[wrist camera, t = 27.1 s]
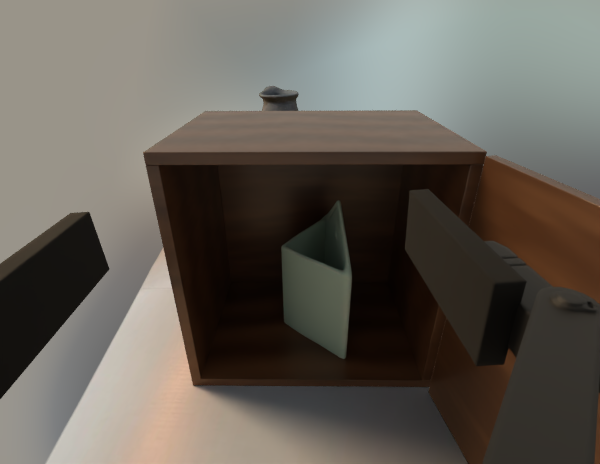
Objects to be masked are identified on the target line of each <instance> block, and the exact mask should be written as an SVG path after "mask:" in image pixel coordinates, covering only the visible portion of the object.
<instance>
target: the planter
mask: <svg viewBox="0 0 600 464" xmlns="http://www.w3.org/2000/svg"><path fill="white" fill-rule="evenodd" d="M281 252H282V280H283V307H284V322H285V323H286V324H287V325H289V326H290V327H291V328H293V329H294V330H296V331H297V332H299V333H300V334H302V335H304V336H305V337H307V338H309V339H310V340H312V341H314V342H316V343H317V344H319V345H321V346H322V347H324V348H326V349H327V350H329V351H330V352H332V353H333V354H335V355H337V356H338V357H340V358H342V359H345V358H346V353H347V340H348V327H349V314H350V301H351V287H352V270H351V264H350V258H349V251H348V245H347V238H346V232H345V226H344V220H343V213H342V207H341V202H340V200H338V201H336V203H335V205H334V206H333V207H332V209H331V210H330V212H329V213H328V214H327V215H325V216H324V217H323V218H322V219H321V220H320V221H318V222H317V223H315V224H313V225H312V226H310V227H309V228H307V229H305V230H304V231H302V232H301V233H299V234H298V235H296V236H295V237H293V238H292V239H290V240H289V241H288V242H286V243H285V244H284V245H282V247H281Z"/></svg>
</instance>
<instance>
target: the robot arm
mask: <svg viewBox="0 0 600 464" xmlns="http://www.w3.org/2000/svg"><path fill="white" fill-rule="evenodd" d="M405 250H406V252H407V254H408V255H409V257H410V258H411V260H412V262H413V263H414V265H415V267H416V268H417V270H418V272H419V273H420V275H421V276H422V278H423V280H424V281H425V283H426V285H427V286H428V288H429V290H430V291H431V293H432V295H433V296H434V298H435V299H436V301H437V303H438V304H439V306H440V308H441V309H442V311H443V313H444V314H445V316H446V317H447V319H448V321H449V322H450V324H451V326H452V327H453V329H454V331H455V332H456V334H457V335H458V337H459V339H460V340H461V342H462V344H463V345H464V347H465V349H466V350H467V352H468V353H469V355H470V357H471V358H472V360H473V362H474V363H475V365H476V366H490V365H504V363H505V359H506V356H507V352H508V348H509V349H510V350H511V351H512V353H513V354H514V355H515V357H516V360H515V363H514V367H513V370H512V373H511V376H510V379H509V382H508V385H507V388H506V391H505V394H504V398H503V401H502V404H501V407H500V410H499V413H498V416H497V419H496V422H495V425H494V429H493V432H492V435H491V438H490V441H489V444H488V447H487V450H486V453H485V456H484V460H483V463H482V464H594V462H595V445H596V429H597V412H598V396H599V393H600V304H599V303H597V302H596V301H595V300H594V299H593V298H591V297H589V296H587V295H586V294H584V293H581V292H578V291H575V290H572V289H568V288H563V287H553V286H552V285H551V284H549V283H548V282H547V281H546V280H545V279H544V278H542V277H541V276H540V275H539V274H538V273H537V272H536V271H534V270H533V269H532V268H531V267H530V266H529V265H526V263H525V262H524V261H523V260H522V259H521V258H518V256H517V255H516V254H515V253H514V252H512V251H511V250H510V249H509V248H508V247H506V246H503V245H501V244H499V243H497V242H495V241H483V240H482V239H481V238H480V237H479V236H478V235H477V234H476V233H475V232H474V231H472V230H471V229H470V228H469V227H468V226H467V225H466V224H465V223H464V222H463V221H462V220H461V219H460V218H459V217H458V216H456V215H455V214H454V213H453V212H452V211H451V210H450V209H449V208H448V207H447V206H446V205H445V204H444V203H443V202H442V201H440V200H439V199H438V198H437V197H436V196H435V195H434V194H433V193H432V192H431V191H430V190H429V189H423V190H410V193H409V205H408V217H407V229H406V241H405ZM108 270H109V267H108V264H107V261H106V258H105V255H104V252H103V250H102V247H101V244H100V241H99V238H98V235H97V233H96V230H95V227H94V224H93V222H92V219H91V216H90V213H89V212H81V213H70V214H69V215H67V216H66V217H65V218H63V219H62V220H60V221H59V222H58V223H56V224H55V225H53V226H52V227H51V228H50V229H48V230H47V231H45V232H44V233H42V234H41V235H40V236H38V237H37V238H35V239H34V240H33V241H31V242H30V243H28V244H27V245H26V246H24V247H23V248H21V249H20V250H19V251H17V252H16V253H15V254H13V255H12V256H10V257H9V258H8V259H6V260H5V261H3V262H2V263H1V264H0V399H1V398H2V396H3V395H4V394H5V393H6V392H7V390H8V389H9V388H10V387H11V386H12V384H13V383H14V382H15V381H16V380H17V379H18V377H19V376H20V375H21V374H22V373H23V372H24V370H25V369H26V368H27V367H28V365H29V364H30V363H31V362H32V361H33V360H34V358H35V357H36V356H37V355H38V354H39V352H40V351H41V350H42V349H43V348H44V346H45V345H46V344H47V343H48V342H49V341H50V339H51V338H52V337H53V336H54V335H55V333H56V332H57V331H58V330H59V329H60V327H61V326H62V325H63V324H64V323H65V321H66V320H67V319H68V318H69V317H70V315H71V314H72V313H73V312H74V311H75V310H76V308H77V307H78V306H79V305H80V303H81V302H82V301H83V300H84V299H85V297H86V296H87V295H88V294H89V293H90V292H91V290H92V289H93V288H94V287H95V286H96V284H97V283H98V282H99V281H100V280H101V279H102V277H103V276H104V275H105V274H106V273H107V271H108Z"/></svg>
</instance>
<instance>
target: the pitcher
mask: <svg viewBox="0 0 600 464" xmlns="http://www.w3.org/2000/svg"><path fill="white" fill-rule="evenodd" d="M259 96H260V97H261V98H262V99H263V102H264V105H263V109H262V111H298V108H297V104H296V98H297V97H298V92H297V91H292V90H282V89H279V88H277V87H275V86H269V87H266V88H265V89H264V91H262V92H261V93H260V94H259Z"/></svg>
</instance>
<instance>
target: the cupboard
mask: <svg viewBox="0 0 600 464" xmlns="http://www.w3.org/2000/svg"><path fill="white" fill-rule="evenodd" d="M486 153H487V152H486V151H485V150H483V149H481V148H480V147H478V146H476V145H474V144H473V143H471V142H469V141H468V140H466V139H464V138H462V137H461V136H459V135H458V134H456V133H454V132H452V131H451V130H449V129H447V128H445V127H444V126H442V125H441V124H439V123H437V122H435V121H434V120H432V119H430V118H428V117H427V116H425V115H423V114H422V113H420V112H418V111H415V110H413V111H205V112H203V113H202V114H200V115H199V116H197V117H196V118H194V119H193V120H191V121H190V122H188V123H187V124H185V125H184V126H182V127H181V128H179V129H178V130H176V131H175V132H173V133H172V134H170V135H169V136H167V137H166V138H164V139H163V140H161V141H160V142H158V143H157V144H155V145H154V146H152V147H151V148H149V149H148V150H146V151H145V152H143V154H144V159H145V163H146V168H147V173H148V178H149V183H150V187H151V192H152V197H153V201H154V205H155V210H156V215H157V220H158V224H159V229H160V234H161V237H162V243H163V247H164V252H165V257H166V261H167V266H168V271H169V275H170V280H171V285H172V289H173V294H174V298H175V303H176V308H177V312H178V317H179V322H180V326H181V331H182V336H183V340H184V345H185V349H186V354H187V359H188V363H189V368H190V373H191V377H192V382H193V385H237V386H383V387H430V383H431V379H432V375H433V370H434V366H435V362H436V358H437V354H438V350H439V346H440V342H441V338H442V334H443V330H444V325H445V321H446V316H445V314H444V313H443V311H442V309H441V308H440V306H439V304H438V303H437V301H436V299H435V298H434V296H433V295H432V293H431V291H430V290H429V288H428V286H427V285H426V283H425V281H424V280H423V278H422V276H421V275H420V273H419V272H418V270H417V268H416V267H415V265H414V263H413V262H412V260H411V258H410V257H409V255H408V254H407V252H406V250H405V241H406V229H407V217H408V205H409V193H410V190H423V189H429V190H430V191H431V192H432V193H433V194H434V195H435V196H436V197H437V198H438V199H439V200H440V201H442V202H443V203H444V204H445V205H446V206H447V207H448V208H449V209H450V210H451V211H452V212H453V213H454V214H455V215H456V216H458V217H459V218H460V219H461V220H462V221H463V222H464V223H465V224H466V225H467V226H468V227H469V223H470V219H471V215H472V211H473V207H474V202H475V198H476V194H477V190H478V186H479V182H480V178H481V174H482V170H483V164H484V162H485V157H486ZM338 200H340V202H341V207H342V213H343V220H344V226H345V232H346V238H347V245H348V251H349V258H350V264H351V270H352V287H351V301H350V314H349V327H348V340H347V353H346V358H345V359H342V358H340V357H338V356H337V355H335V354H333V353H332V352H330V351H329V350H327V349H326V348H324V347H322V346H321V345H319V344H317V343H316V342H314V341H312V340H310V339H309V338H307V337H305V336H304V335H302V334H300V333H299V332H297V331H296V330H294V329H293V328H291V327H290V326H289V325H287V324H286V323H285V322H284V307H283V280H282V252H281V247H282V245H284V244H285V243H286V242H288V241H289V240H290V239H292V238H293V237H295V236H296V235H298V234H299V233H301V232H302V231H304V230H305V229H307V228H309V227H310V226H312V225H313V224H315V223H317V222H318V221H320V220H321V219H322V218H323V217H324V216H325V215H327V214H328V213H329V212H330V210H331V209H332V207H333V206H334V205H335V203H336V201H338Z"/></svg>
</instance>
